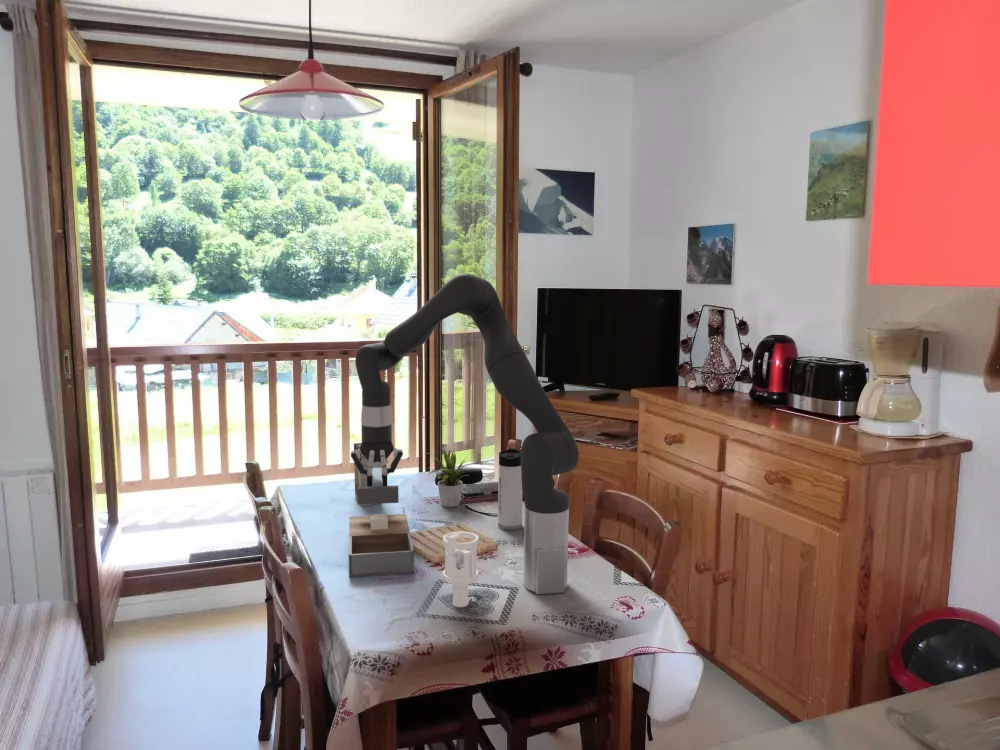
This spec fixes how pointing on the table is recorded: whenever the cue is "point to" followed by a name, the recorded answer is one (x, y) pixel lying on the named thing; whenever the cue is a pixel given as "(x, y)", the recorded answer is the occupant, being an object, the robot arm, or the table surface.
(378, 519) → the tile
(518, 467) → the travel mug
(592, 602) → the table surface
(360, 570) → the box
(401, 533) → the wooden box lid
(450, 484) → the house plant
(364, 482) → the coffee box
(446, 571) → the white slotted cylindrical fitting
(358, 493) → the scraper
